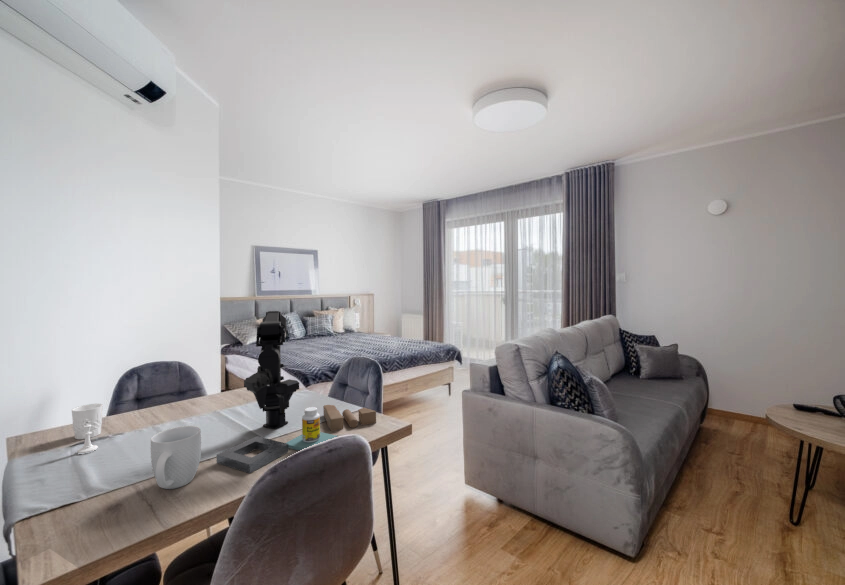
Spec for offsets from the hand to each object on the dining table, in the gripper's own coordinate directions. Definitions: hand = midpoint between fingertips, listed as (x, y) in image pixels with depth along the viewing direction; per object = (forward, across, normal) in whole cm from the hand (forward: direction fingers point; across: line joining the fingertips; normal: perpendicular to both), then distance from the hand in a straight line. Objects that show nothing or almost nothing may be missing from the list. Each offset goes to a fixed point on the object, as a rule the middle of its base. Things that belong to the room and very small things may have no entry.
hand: (271, 410), depth 114 cm
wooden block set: (+13, +8, +30) cm, 33 cm away
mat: (+12, +9, +8) cm, 17 cm away
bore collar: (+12, 0, -7) cm, 14 cm away
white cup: (+12, -67, -20) cm, 71 cm away
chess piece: (+12, -52, -26) cm, 59 cm away
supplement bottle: (+11, +9, +8) cm, 16 cm away
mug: (+12, -6, -26) cm, 29 cm away
